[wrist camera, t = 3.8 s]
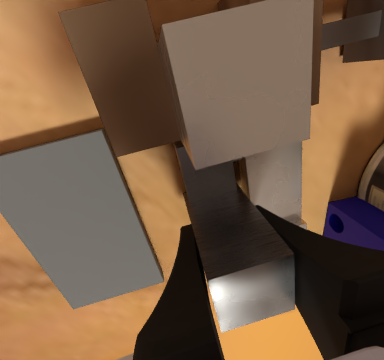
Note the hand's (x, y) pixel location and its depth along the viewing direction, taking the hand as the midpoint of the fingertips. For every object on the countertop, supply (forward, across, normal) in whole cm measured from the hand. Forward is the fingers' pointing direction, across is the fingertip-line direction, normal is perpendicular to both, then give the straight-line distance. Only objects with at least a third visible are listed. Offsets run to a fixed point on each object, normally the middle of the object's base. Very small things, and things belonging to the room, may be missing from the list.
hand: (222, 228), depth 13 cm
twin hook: (+2, -2, -3) cm, 5 cm away
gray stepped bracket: (+2, 0, -2) cm, 3 cm away
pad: (+2, +8, -1) cm, 9 cm away
